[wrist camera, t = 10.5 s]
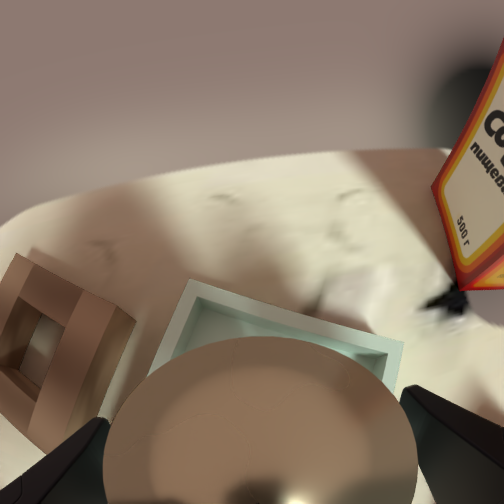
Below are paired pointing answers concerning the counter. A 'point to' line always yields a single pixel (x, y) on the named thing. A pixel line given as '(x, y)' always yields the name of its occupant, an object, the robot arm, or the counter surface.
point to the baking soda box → (477, 190)
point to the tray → (267, 330)
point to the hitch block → (56, 353)
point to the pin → (260, 430)
